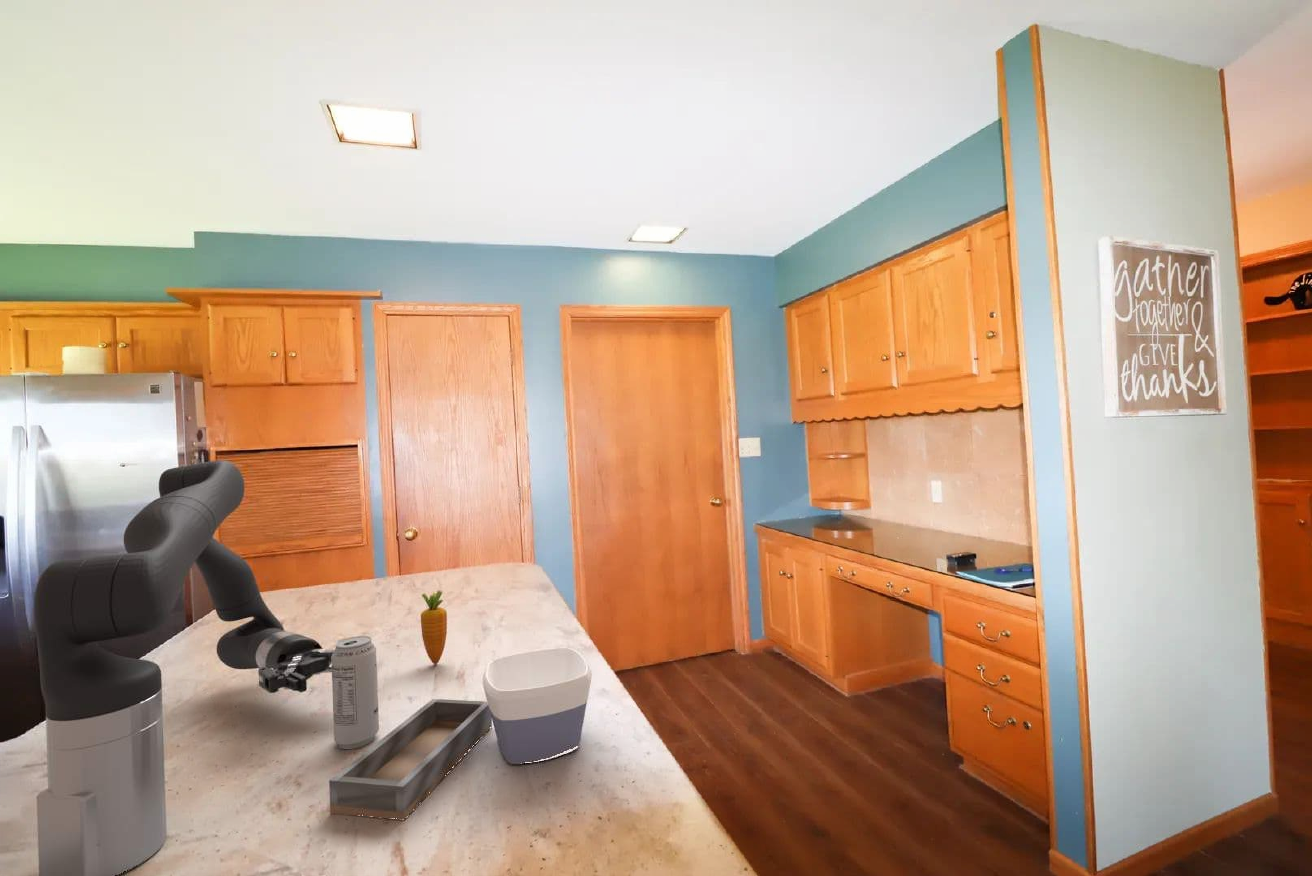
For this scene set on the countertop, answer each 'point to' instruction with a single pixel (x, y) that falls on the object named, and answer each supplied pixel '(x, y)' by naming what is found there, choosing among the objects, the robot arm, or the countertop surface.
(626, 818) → the countertop surface
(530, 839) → the countertop surface
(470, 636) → the countertop surface
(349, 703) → the energy drink can
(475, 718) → the rectangular tray
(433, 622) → the carrot
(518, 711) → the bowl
